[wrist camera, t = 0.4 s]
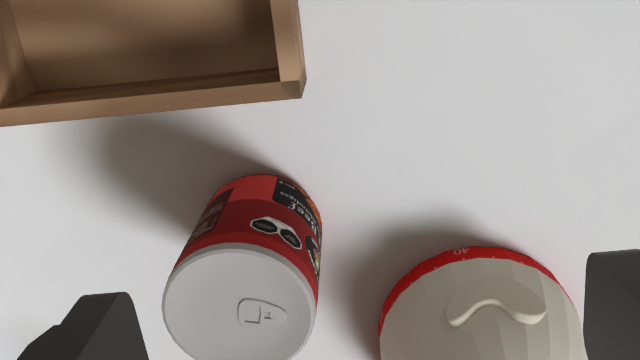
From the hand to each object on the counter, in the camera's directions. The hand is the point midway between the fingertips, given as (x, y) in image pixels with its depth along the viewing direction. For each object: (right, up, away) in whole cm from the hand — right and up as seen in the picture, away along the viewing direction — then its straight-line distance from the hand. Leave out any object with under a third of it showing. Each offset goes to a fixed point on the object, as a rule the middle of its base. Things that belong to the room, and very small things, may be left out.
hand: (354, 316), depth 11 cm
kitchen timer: (+11, -9, +33) cm, 36 cm away
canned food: (-4, 0, +30) cm, 31 cm away
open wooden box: (-11, +12, +26) cm, 30 cm away
